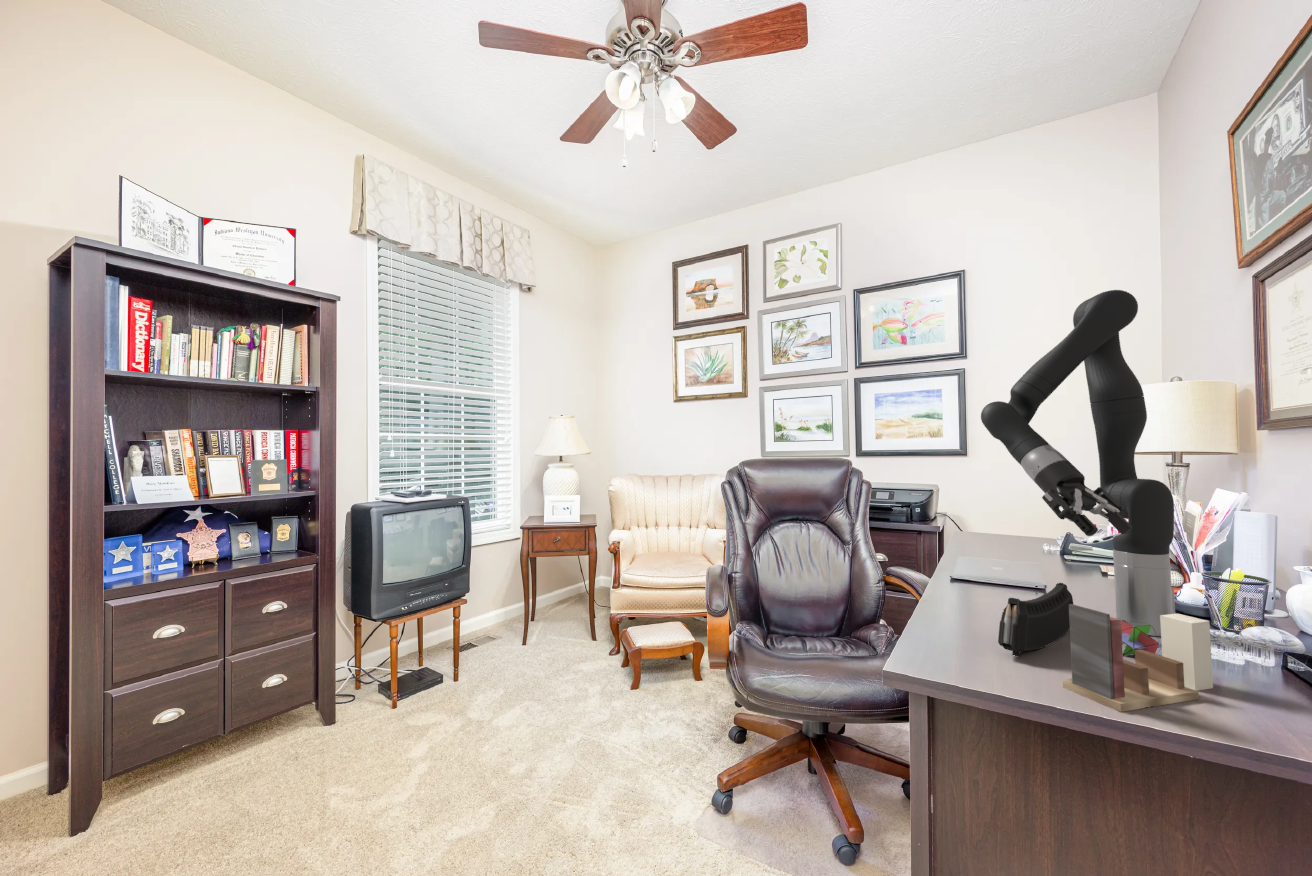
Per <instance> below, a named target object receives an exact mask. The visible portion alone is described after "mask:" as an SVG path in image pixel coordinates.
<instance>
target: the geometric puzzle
mask: <svg viewBox="0 0 1312 876" xmlns="http://www.w3.org/2000/svg"><path fill="white" fill-rule="evenodd" d="M1137 623H1138V622H1137ZM1143 624H1144V623H1143ZM1151 626H1152V624H1151V625H1150V624H1149V625H1144V626H1133V625H1132V624H1131V623H1129V622H1127V620H1126V621H1124V620H1123V621H1122V622H1121V630H1122V644H1123V643H1124V644H1125V645H1126V646H1125V648H1124V650H1123V657H1124V656H1127V657H1130V656H1128V655H1130V654H1131V655H1135V650H1144V651H1148V652H1151V653H1154V654H1156V653H1159V652H1160V650H1158V649H1159V648H1160V649H1162V643H1161V639H1159V638H1158V637H1159V636H1155V637H1156V638H1157V640H1155V639H1154V638H1153V637H1151V636H1150V635H1148V633H1149V630H1150V628H1151ZM1152 627H1153V626H1152ZM1153 629H1154V628H1153ZM1154 632H1155V630H1154ZM1155 633H1156V632H1155ZM1156 635H1157V634H1156ZM1157 650H1158V651H1157ZM1132 658H1134V659H1135V656H1134V657H1133V656H1132Z"/></svg>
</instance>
